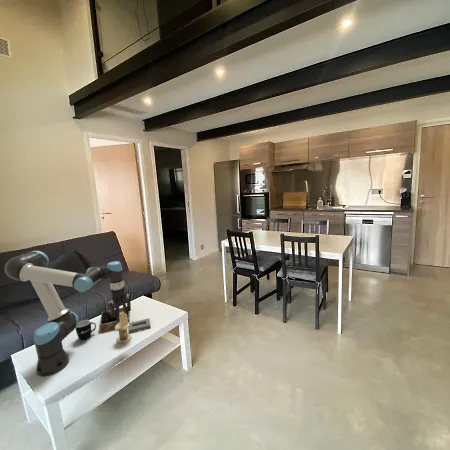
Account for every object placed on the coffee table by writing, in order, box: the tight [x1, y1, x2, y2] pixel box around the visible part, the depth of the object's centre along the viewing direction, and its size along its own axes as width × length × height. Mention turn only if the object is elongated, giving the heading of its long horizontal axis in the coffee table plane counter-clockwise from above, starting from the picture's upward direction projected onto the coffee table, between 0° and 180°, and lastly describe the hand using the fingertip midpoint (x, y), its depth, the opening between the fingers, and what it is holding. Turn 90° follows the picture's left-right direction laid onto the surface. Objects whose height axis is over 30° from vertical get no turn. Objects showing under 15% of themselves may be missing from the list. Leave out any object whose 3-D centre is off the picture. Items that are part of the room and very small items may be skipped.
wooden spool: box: [114, 322, 132, 345], centre depth 162 cm, size 9×9×10 cm
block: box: [119, 312, 127, 327], centre depth 151 cm, size 3×3×8 cm
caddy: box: [98, 306, 131, 333], centre depth 185 cm, size 19×21×5 cm
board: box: [128, 317, 152, 334], centre depth 176 cm, size 14×10×2 cm
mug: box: [74, 319, 97, 341], centre depth 168 cm, size 12×9×10 cm
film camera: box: [100, 310, 117, 324], centre depth 183 cm, size 15×10×9 cm, turn 21°
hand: (123, 324), depth 152 cm, fingers closed on block, 3 cm apart
